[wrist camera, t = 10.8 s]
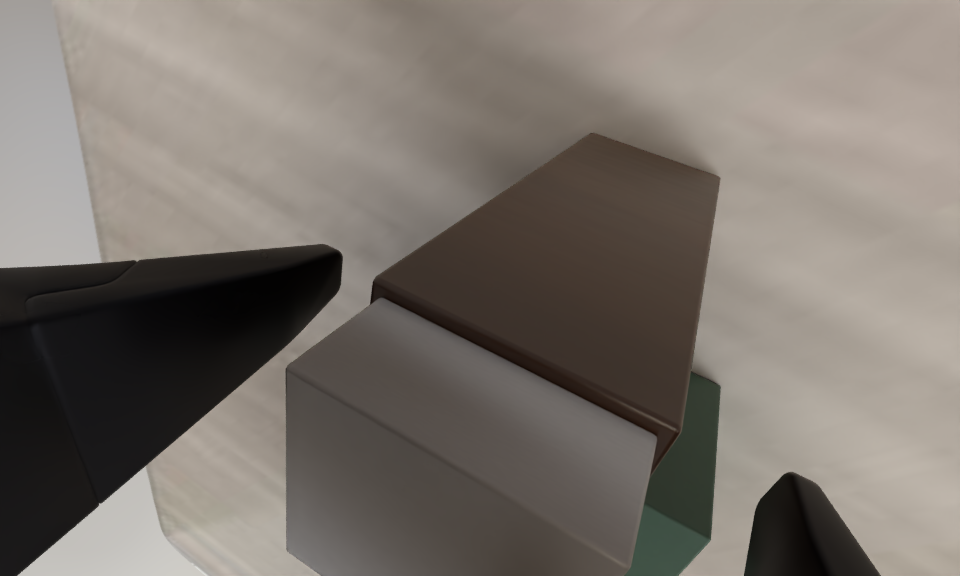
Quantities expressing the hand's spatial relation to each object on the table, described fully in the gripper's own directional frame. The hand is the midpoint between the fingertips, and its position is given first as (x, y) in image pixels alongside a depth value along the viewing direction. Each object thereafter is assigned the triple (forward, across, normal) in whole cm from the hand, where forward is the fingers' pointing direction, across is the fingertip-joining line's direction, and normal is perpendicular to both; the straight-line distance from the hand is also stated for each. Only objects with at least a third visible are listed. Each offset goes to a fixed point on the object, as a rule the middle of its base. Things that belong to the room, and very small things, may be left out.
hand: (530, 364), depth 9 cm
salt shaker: (+7, 0, +5) cm, 9 cm away
